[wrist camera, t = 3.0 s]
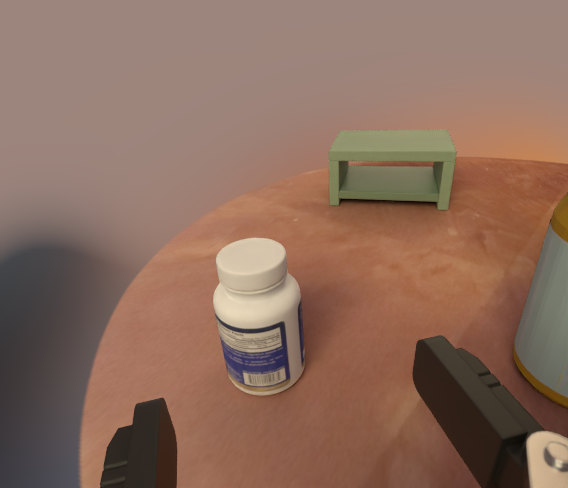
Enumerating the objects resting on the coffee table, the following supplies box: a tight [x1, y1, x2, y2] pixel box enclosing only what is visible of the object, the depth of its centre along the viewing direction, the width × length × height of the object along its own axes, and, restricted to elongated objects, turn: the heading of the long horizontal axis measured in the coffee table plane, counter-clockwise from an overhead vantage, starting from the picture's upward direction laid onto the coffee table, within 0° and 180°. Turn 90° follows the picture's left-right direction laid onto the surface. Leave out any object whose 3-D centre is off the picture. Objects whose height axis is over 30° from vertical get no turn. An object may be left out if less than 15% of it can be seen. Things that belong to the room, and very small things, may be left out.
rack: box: [329, 130, 457, 210], centre depth 49 cm, size 14×10×7 cm
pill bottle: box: [213, 238, 305, 396], centre depth 24 cm, size 5×5×9 cm
